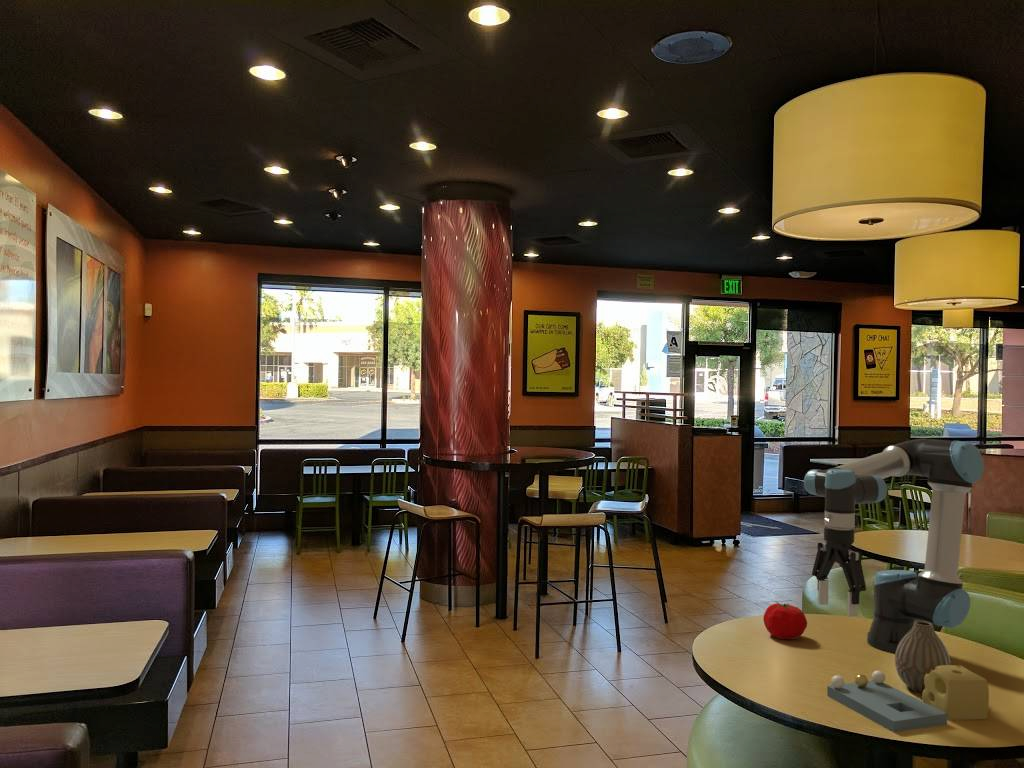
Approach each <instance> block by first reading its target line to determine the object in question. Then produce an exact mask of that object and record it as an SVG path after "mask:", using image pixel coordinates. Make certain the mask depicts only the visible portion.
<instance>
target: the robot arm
mask: <svg viewBox="0 0 1024 768" xmlns="http://www.w3.org/2000/svg"><path fill="white" fill-rule="evenodd" d="M983 473H984V459H983V456H982V454H981V452H980V451H979V449H978V447H977V446H976V445H974V444H973V443H971V442H968V441H960V440H946V439H945V440H944V439H934V438H916V439H911V440H907V441H903V442H900V443H896V444H892V445H889V446H887V447H885V448H884V449H883V451H882V452H879V453H876V454H872V455H870V456H869V455H868V456H866V457H863V458H860V459H857V460H854V461H851V462H847V463H845V464H841V465H839V466H835V467H832V468H831V467H830V468H828V469H820V468H819V469H810V470H808V471H807V473H805V475H804V479H803V486H804V488H805V489H804V490H805V492H807V493H808V494H809V495H813V496H817V497H822V498H824V520H823V521H824V522H823V523H824V525H825V527H824V528H823V540H824V542H817V551H816V557H815V560H814V562H813V567H812V571H811V575H812V576H813V577H815V578H816V580H817V588H816V589H817V591H818V593H817V595H818V596H817V599H818V600H817V605H819V606H822V605H823V606H825V605H829V587H830V585H829V577H828V576H829V574H830V573H831V570H832V568H833V567H834V564H835V563H836V564H838V565H839V567H840V568H842V572H843V574H844V576H845V580H846V582H847V584H848V588H849V590H847V601H846V602H847V605H846V606H847V607H846V611H847V614H846V616H847V617H849V618H850V617H858V614H859V610H858V609H859V607H858V606H859V605H860V592H865V591H867V586H866V580H865V575H864V571H863V565H862V553H861V552H860V551H853V549H852V545H853V544H854V542H855V530H854V528H855V526H856V525H855V522H856V521H855V520H856V519H855V518H856V517H855V514H856V513H855V512H856V511H855V510H856V509H855V508H856V505H863V504H871V505H872V504H875V503H879V502H882V501H884V499H885V498H886V496H887V493H888V486H887V483H886V482H885V480H884V479H887V478H889V477H892V476H893V477H904V476H919V477H925V478H927V484H928V486H929V487H931V490H932V493H931V500H930V501H931V503H930V511H929V512H930V513H929V520H928V521H929V523H928V530H927V531H928V532H927V534H928V535H927V543H926V552H925V561H924V562H925V563H924V569H923V570H922V571H921V572H919V573H917V572H915V571H914V570H913V571H912V570H907V569H906V570H904V569H887V570H885V569H884V570H880V571H877V572H876V573H875V576H874V584H873V586H874V587H873V588H874V589H873V591H874V593H873V595H874V596H873V597H874V598H873V619H872V622H871V624H870V628H869V631H868V633H867V635H866V636H867V639H866V641H867V643H868V644H869V646H871V647H873V648H875V649H878V650H881V651H886V652H890V653H894V654H895V653H896V649H897V646H898V644H899V642H900V640H901V639H902V638H903V637H904V636H905V634H906V633H907V632H908V631H910V630H911V628H912V627H913V625H914V622H915V621H917V620H918V621H926V622H929V623H932V624H933V625H935V626H936V627H944V628H949V629H950V628H951V629H952V628H956V627H959V626H960V625H962V623H963V621H965V620H966V618H967V617H968V615H969V612H970V608H971V598H970V593H968V592H967V591H966V590H965V589H963V585H964V584H963V583H964V581H963V580H962V579H961V578H960V577H959V576H958V574H959V564H960V563H959V561H960V554H961V544H962V543H961V542H962V535H963V533H962V531H963V524H964V522H963V521H964V513H965V503H966V494H967V493H968V492H970V491H971V490H973V485H974V484H975V483H977V482H979V481H980V480H981V478H982V476H983Z"/></svg>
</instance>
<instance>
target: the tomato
mask: <svg viewBox="0 0 1024 768" xmlns="http://www.w3.org/2000/svg"><path fill="white" fill-rule="evenodd" d="M762 619H763V620H762V621H763V624H764V627H765V628H766V631H767V632H768V633H769V634H770V635H771V636H773V637H775V638H777V639H781V640H794V639H797V638H799V637H801V636H802V635H803V634H804V633H805V630H806V629H807V626H808V621H807V617H806V615H805V613H804V611H802V609H800V608H799V607H798V606H794V605H791V604H790V603H787V604H786V603H783V604H782V603H779V602H777V601H776V600H775V603H773V604H770V605H768V607H766V609H765V611H764V613H763V618H762Z"/></svg>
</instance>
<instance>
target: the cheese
mask: <svg viewBox="0 0 1024 768" xmlns="http://www.w3.org/2000/svg"><path fill="white" fill-rule="evenodd" d="M924 684H925V690H923V693H921V695H922V696H921V698H922V702H924V703H926V704H928V705H931V706H933V707H935V708H937V709H939V710H941V711H943V712H945V713H947V721H963V720H964V721H965V720H966V721H969V720H971V721H972V720H986V719H987V717H988V716H987V715H988V713H989V703H990V702H989V701H990V691H989V690H990V689H989V685H988V680H987V679H986V678H985V677H982V676H981V675H979V674H977V673H975V672H973V671H970V670H969V669H967V668H966V667H964V666H963V665H956V664H955V665H954V664H951V665H942V666H937V667H936V668H935V670H932V671H931V672H930V673H929V674H926V675H925V677H924Z"/></svg>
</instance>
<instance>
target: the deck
mask: <svg viewBox="0 0 1024 768" xmlns="http://www.w3.org/2000/svg"><path fill="white" fill-rule="evenodd" d="M826 693H827V695H826V696H827V697H829V698H831V699H833V700H834V701H836V702H837V703H840V704H842V705H843V706H845V707H847V708H849V709H850V710H853V711H854V712H856V713H857V714H859V715H862V716H863V717H865V718H866V719H869V720H870V721H873V722H874V723H876V724H878V725H879V726H881V727H883V728H885V729H887V730H889V731H890V732H892V733H896V732H903V731H912V730H917V729H924V728H930V727H937V726H943V725H947V724H948V720H947V713H945V712H943V711H941V710H939V709H937V708H935V707H933V706H931V705H928V704H926V703H924V702H923V700H921V699H919V698H916V697H914V696H912V695H910V694H908V693H905V692H904V691H902V690H899V689H897V688H895V687H894V686H891V685H889V684H887V683H885V682H883V683H880V684H879V683H876V682H874V681H873V679H872V680H868V684H867V686H866V687H863V688H861V687H858V686H857V685H856V684H855V682H849V683H848V682H847V683H845V684H844V686H843V687H842V688H840V689H837V688H835V687H834V686H833V685H832V684H831V685H827V690H826Z"/></svg>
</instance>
